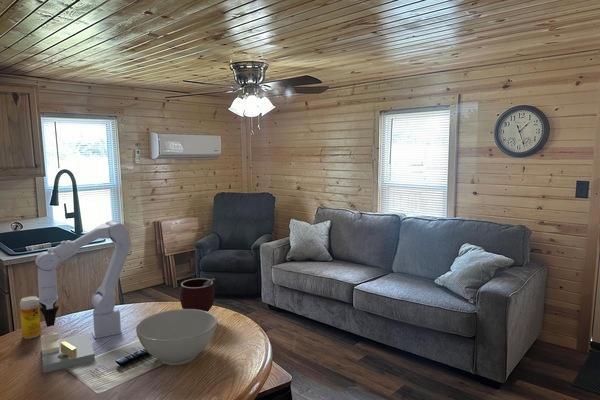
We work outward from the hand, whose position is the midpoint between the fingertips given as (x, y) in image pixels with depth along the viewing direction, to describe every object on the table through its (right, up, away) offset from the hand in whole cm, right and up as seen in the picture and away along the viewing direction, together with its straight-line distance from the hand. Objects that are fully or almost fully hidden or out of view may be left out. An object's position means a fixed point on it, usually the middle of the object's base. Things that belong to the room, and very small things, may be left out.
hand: (49, 322), depth 150 cm
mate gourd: (+48, -7, +24) cm, 54 cm away
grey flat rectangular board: (+9, -10, -5) cm, 14 cm away
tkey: (+13, -8, -12) cm, 20 cm away
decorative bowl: (+48, -11, -5) cm, 49 cm away
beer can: (-13, -9, +10) cm, 19 cm away
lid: (+3, -8, -5) cm, 10 cm away
